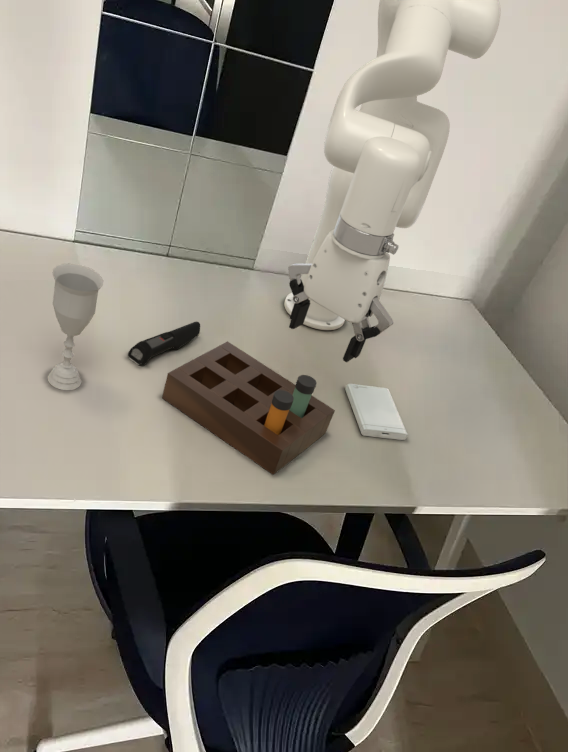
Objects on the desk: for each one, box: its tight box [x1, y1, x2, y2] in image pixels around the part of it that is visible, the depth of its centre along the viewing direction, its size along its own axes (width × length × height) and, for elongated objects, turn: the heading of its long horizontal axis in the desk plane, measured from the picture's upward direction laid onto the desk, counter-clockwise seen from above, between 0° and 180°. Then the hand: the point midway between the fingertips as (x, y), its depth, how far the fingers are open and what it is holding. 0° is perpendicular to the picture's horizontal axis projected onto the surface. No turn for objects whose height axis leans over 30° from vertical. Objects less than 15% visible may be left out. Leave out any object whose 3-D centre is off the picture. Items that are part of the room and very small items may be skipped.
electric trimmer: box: [127, 321, 201, 366], centre depth 134 cm, size 4×16×3 cm, turn 142°
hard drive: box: [344, 383, 409, 441], centre depth 137 cm, size 2×8×12 cm
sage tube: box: [289, 374, 318, 418], centre depth 124 cm, size 3×3×10 cm
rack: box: [161, 340, 336, 475], centre depth 126 cm, size 16×22×5 cm
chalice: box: [47, 262, 104, 391], centre depth 116 cm, size 7×7×18 cm
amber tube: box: [264, 390, 294, 435], centre depth 120 cm, size 3×3×10 cm
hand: (322, 342), depth 116 cm, fingers open, 9 cm apart
